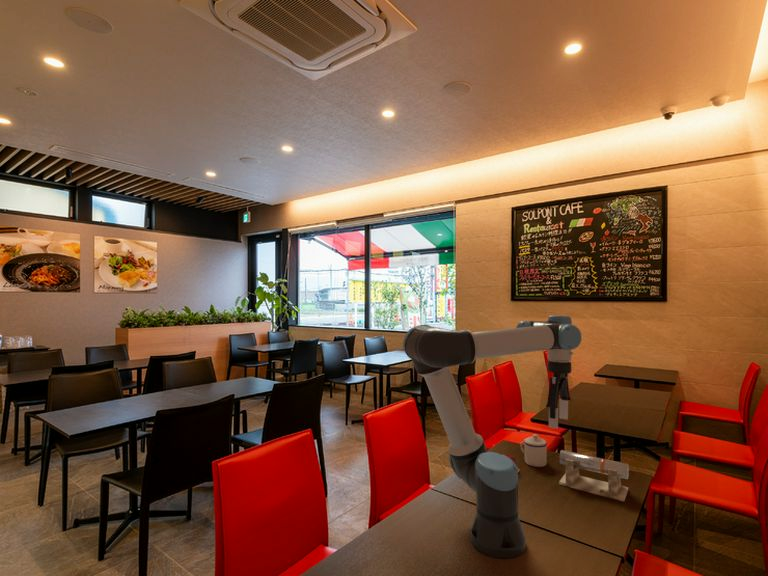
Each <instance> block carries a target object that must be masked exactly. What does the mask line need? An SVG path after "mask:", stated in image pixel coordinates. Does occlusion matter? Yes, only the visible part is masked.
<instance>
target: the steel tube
mask: <svg viewBox="0 0 768 576" xmlns="http://www.w3.org/2000/svg"><path fill="white" fill-rule="evenodd" d="M573 452H574V451H568V450H563V449H561V450H560V452H559V460H558V461H559V464H560V465H563V466H565V460H566V459H570V460H574V467H576V468H579V469H581V470H586V471H589V472H594V473H599V474H602V475H607V476H608V469H609V468H610V469H615V470H617V477H619V478H621V479H625V480H628V479H629V475H630V474H629V472H630V467H629V463H624V462H621V461H617V462H616V461H615V460H611V459H606V458H601V457H596V456H591V455H587V454H581V453H579V454H578V453H577V452H574V453H573Z"/></svg>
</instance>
